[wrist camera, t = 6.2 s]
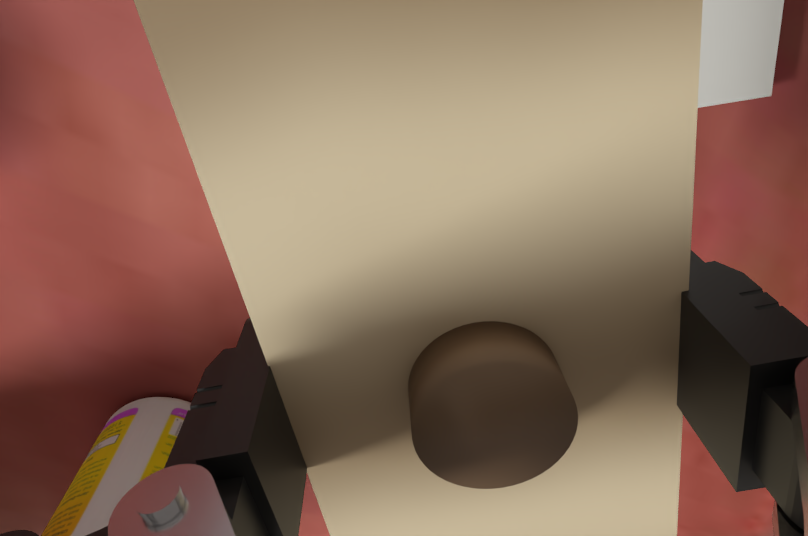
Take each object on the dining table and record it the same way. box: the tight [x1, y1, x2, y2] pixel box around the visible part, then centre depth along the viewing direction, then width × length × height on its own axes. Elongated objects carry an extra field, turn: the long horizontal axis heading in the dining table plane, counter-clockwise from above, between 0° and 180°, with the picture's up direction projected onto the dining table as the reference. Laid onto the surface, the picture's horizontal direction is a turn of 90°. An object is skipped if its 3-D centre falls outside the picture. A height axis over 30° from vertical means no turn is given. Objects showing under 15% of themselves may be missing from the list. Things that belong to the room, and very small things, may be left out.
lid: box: [134, 0, 703, 536], centre depth 10 cm, size 13×6×4 cm, turn 10°
